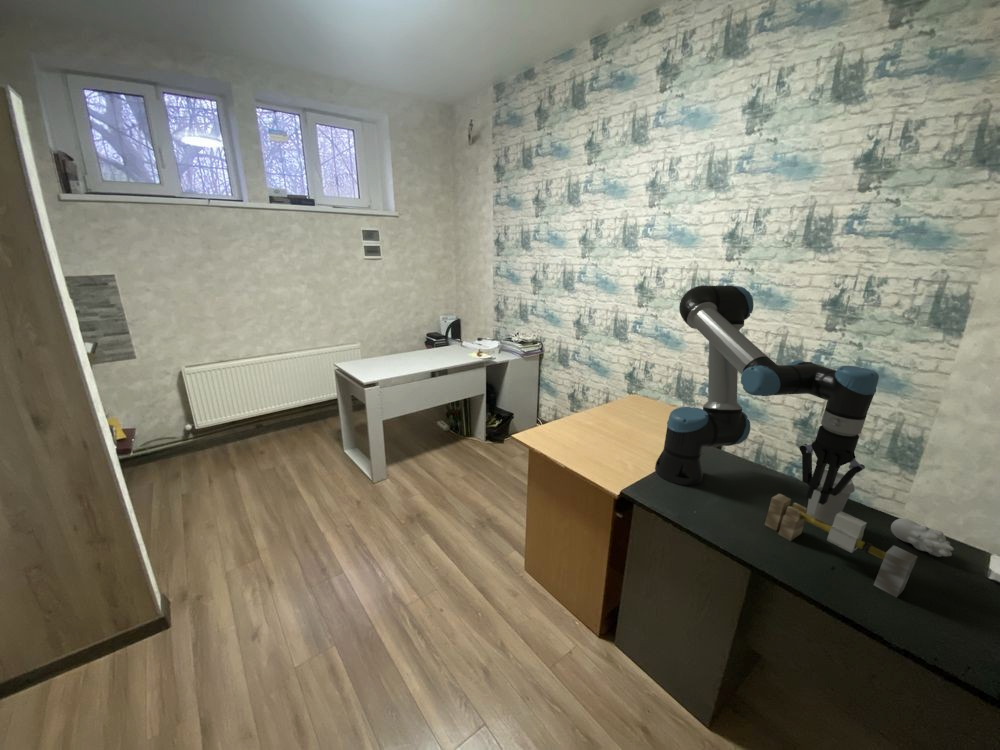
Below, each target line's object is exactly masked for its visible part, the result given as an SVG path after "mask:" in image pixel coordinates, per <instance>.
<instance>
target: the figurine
mask: <svg viewBox="0 0 1000 750" xmlns="http://www.w3.org/2000/svg"><path fill="white" fill-rule="evenodd" d="M890 531H891V533H892V534H893V535H894V537H896V538H897V539H899V540H901V541H902V542H905V543H909V544H911V545H912V546H913V548H915V549H916V550H918V551H922V552H927V553H928V554H929V555H932V556H935V557H940V558H941V557H952V555H953V554H952V553H953V551H954V550H955V549H954V547H953V546H951V542H950V541H948V540H947V537H946V535H944V532H943V531H942V530H939V529H934V528H931V527H928V526H926V525H921V524H919V523H917V522H916V521H914V520H911V519H908V518H898V519H895V520H894V521H893V522H892V523H891V525H890Z"/></svg>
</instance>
